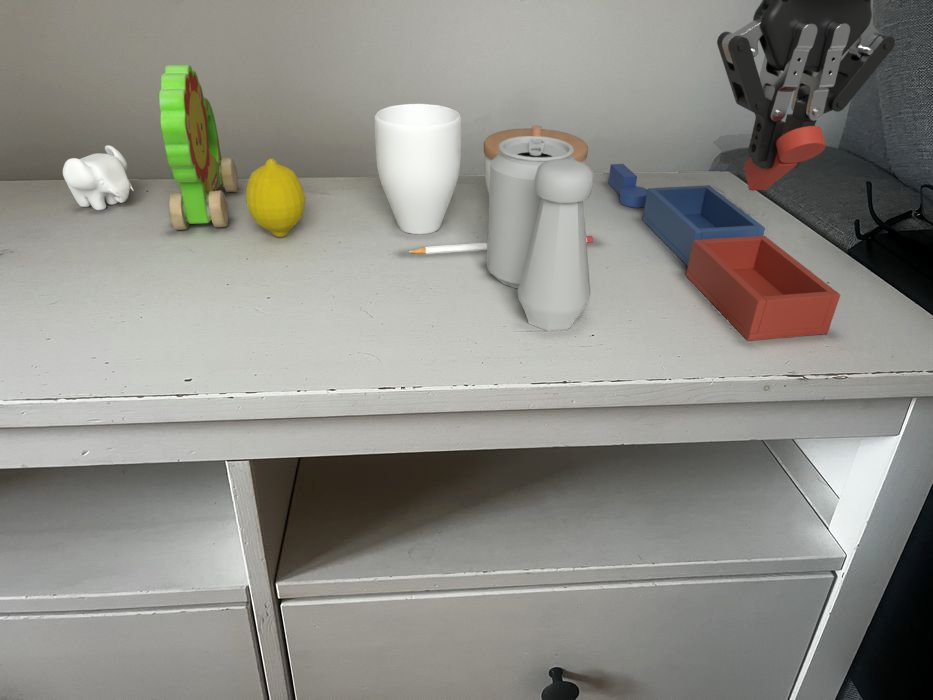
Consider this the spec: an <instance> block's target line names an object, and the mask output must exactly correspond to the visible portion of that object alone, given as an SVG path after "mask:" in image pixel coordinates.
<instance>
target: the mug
mask: <svg viewBox="0 0 933 700" xmlns="http://www.w3.org/2000/svg"><path fill="white" fill-rule="evenodd" d="M373 121H374V126H373V127H374V143H375V162H376V170H377V175H378V179H379V182H380V185H381V187H382V190H383V193H384V195H385V197H386V199H387V202H388V204H389V207H390V209H391V211H392V214H393V216H394V219H395V221H396V223H397V226H398V228H399V229H400V230H401V231H402V232H405V233H407V234H410V235H428V234H432V233H434V232H437V231H439V230H440V228H441V227H442V224H443V221H444V218H445V217H446V213H447V211H448V208H449V206H450V203H451V200H452V198H453V196H454V192H455V189H456V187H457V183H458V180H459V176H460V171H461V161H462V160H461V158H462V118H461V114H460V113H459V112H458V111H457V110H455V109H453V108H451V107H448V106H443V105H437V104H431V103H430V104H427V103H406V104H397V105H396V104H395V105H390V106H387V107H384V108H382V109H380V110H378V111H377V112H376V113H375V115H374V120H373Z"/></svg>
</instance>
